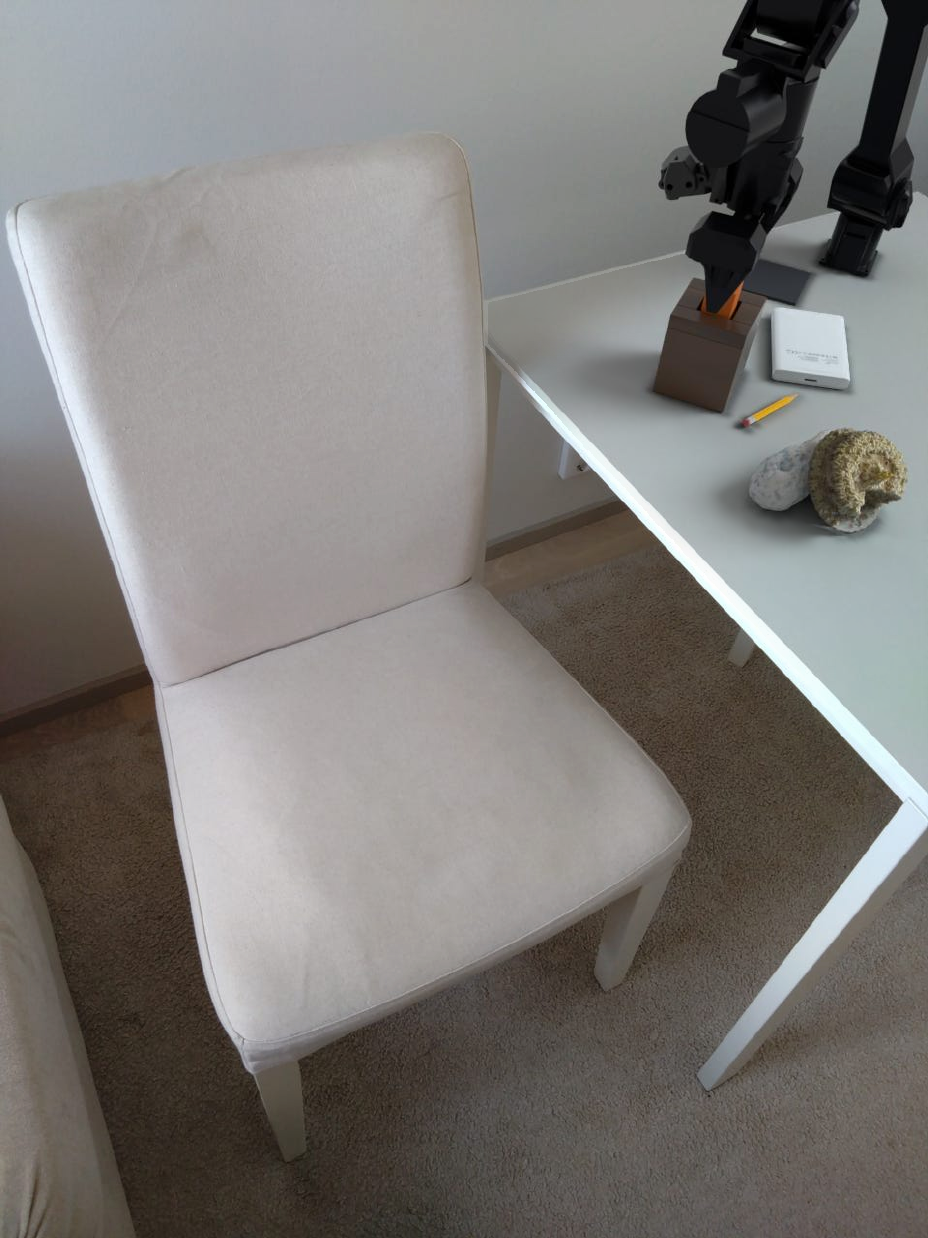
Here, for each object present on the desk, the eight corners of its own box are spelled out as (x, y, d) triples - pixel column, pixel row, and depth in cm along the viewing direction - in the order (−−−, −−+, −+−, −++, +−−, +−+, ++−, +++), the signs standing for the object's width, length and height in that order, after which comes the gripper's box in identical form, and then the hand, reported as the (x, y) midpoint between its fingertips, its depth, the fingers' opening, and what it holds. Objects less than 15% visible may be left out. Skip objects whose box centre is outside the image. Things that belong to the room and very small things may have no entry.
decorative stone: (783, 536, 86) (801, 498, 82) (734, 494, 90) (748, 455, 86) (876, 485, 91) (896, 446, 87) (825, 447, 95) (843, 408, 91)
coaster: (748, 258, 118) (749, 255, 118) (810, 274, 116) (810, 272, 116) (731, 287, 113) (732, 285, 113) (795, 305, 111) (796, 303, 111)
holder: (675, 352, 104) (693, 276, 97) (743, 373, 102) (767, 297, 95) (652, 390, 100) (670, 314, 92) (722, 413, 98) (746, 336, 90)
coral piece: (786, 453, 85) (829, 442, 80) (860, 413, 88) (905, 399, 83) (826, 550, 86) (870, 545, 81) (897, 507, 89) (944, 499, 84)
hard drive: (839, 327, 109) (846, 390, 101) (769, 318, 109) (771, 379, 102) (844, 315, 107) (851, 378, 100) (773, 306, 108) (775, 367, 100)
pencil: (741, 423, 96) (743, 418, 96) (794, 394, 100) (796, 389, 99) (747, 427, 96) (749, 422, 95) (799, 398, 99) (801, 393, 99)
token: (706, 307, 96) (715, 272, 93) (733, 315, 95) (744, 280, 92) (697, 321, 94) (706, 286, 91) (725, 329, 94) (735, 294, 90)
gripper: (711, 72, 87) (677, 228, 100) (647, 149, 77) (618, 313, 89) (827, 97, 85) (777, 254, 97) (777, 180, 74) (728, 345, 86)
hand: (724, 289), depth 92 cm, fingers open, 9 cm apart
